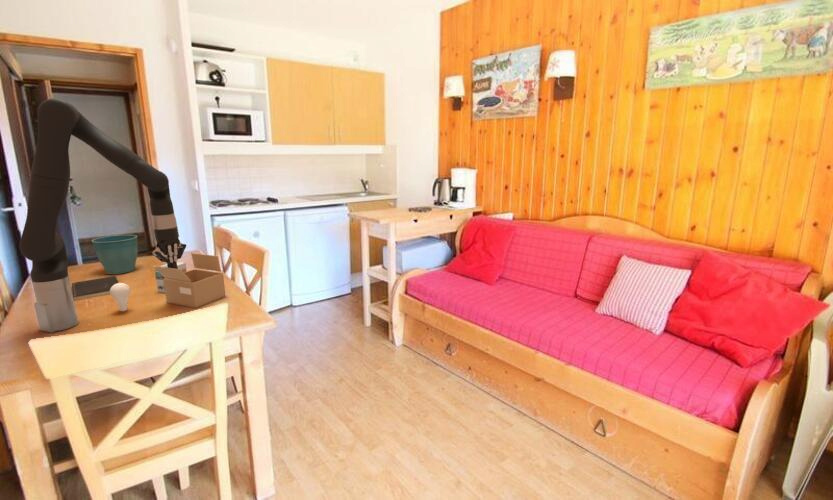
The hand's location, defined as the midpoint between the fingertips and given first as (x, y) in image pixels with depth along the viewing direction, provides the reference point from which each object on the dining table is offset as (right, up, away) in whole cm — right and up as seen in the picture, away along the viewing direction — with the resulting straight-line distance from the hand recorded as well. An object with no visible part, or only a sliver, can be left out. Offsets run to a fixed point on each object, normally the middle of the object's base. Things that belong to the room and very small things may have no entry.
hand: (173, 271), depth 153 cm
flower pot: (-56, -3, +50) cm, 75 cm away
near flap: (0, -1, 0) cm, 1 cm away
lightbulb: (-18, -15, -1) cm, 23 cm away
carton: (+3, -12, +11) cm, 16 cm away
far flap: (+5, +3, +13) cm, 14 cm away
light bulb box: (-14, -9, +24) cm, 29 cm away
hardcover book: (-48, -10, +24) cm, 54 cm away
